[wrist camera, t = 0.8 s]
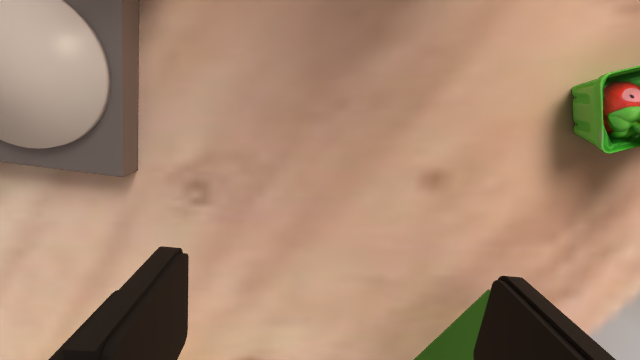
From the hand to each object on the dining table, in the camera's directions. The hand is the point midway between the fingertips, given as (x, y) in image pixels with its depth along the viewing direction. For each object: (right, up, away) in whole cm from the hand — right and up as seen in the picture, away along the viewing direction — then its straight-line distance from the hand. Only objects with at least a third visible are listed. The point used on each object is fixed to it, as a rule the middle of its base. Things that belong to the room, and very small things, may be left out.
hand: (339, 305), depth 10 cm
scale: (-27, +14, +23) cm, 38 cm away
